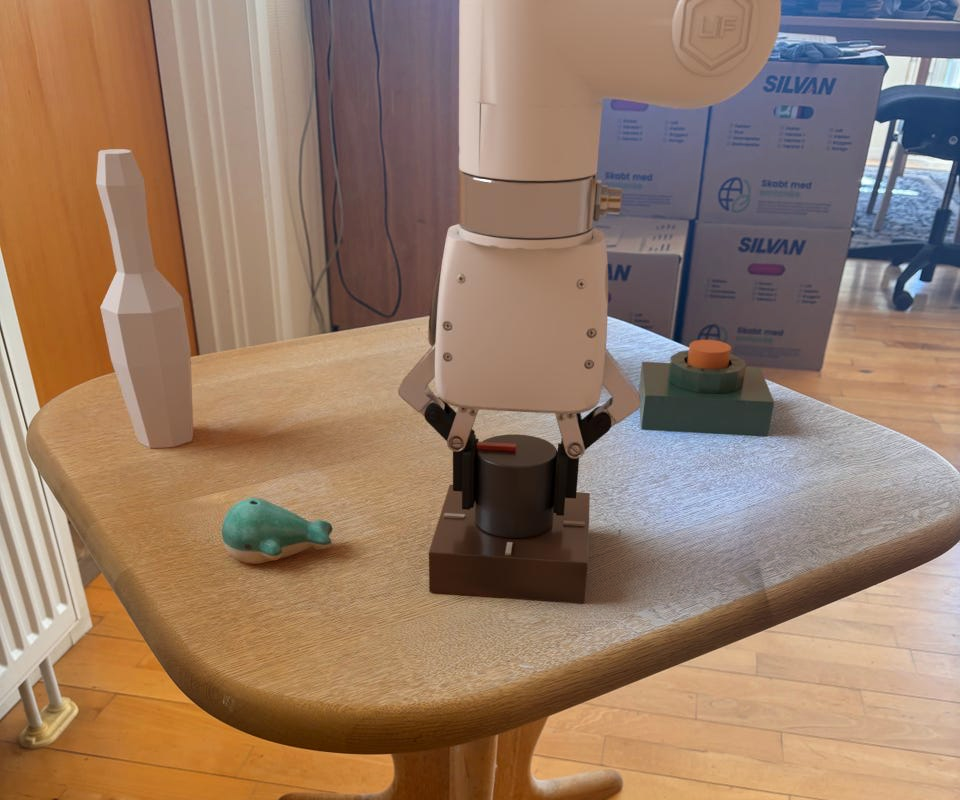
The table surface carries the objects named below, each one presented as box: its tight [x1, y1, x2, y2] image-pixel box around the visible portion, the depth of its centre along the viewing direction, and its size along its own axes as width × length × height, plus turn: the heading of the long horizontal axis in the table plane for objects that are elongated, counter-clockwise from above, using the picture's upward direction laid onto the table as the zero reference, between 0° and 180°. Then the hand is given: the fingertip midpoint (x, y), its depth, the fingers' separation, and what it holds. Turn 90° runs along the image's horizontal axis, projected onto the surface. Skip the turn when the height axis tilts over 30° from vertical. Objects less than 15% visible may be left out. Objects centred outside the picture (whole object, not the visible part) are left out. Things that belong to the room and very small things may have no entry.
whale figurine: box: [221, 497, 333, 565], centre depth 66 cm, size 6×7×4 cm
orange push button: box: [687, 339, 732, 369], centre depth 86 cm, size 4×4×2 cm
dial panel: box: [428, 484, 591, 604], centre depth 65 cm, size 10×10×3 cm
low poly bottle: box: [95, 148, 194, 449], centre depth 76 cm, size 6×6×22 cm
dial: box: [475, 434, 558, 538], centre depth 63 cm, size 5×5×5 cm
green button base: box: [638, 349, 775, 438], centre depth 88 cm, size 11×9×5 cm
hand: (514, 500), depth 64 cm, fingers closed on dial, 5 cm apart
